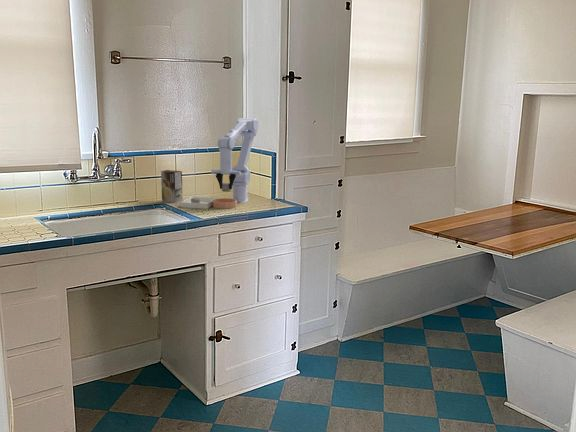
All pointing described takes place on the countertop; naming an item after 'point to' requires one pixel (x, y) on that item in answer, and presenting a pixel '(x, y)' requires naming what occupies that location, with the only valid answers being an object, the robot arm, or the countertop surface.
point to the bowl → (224, 203)
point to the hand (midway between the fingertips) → (226, 188)
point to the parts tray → (204, 203)
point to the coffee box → (171, 186)
